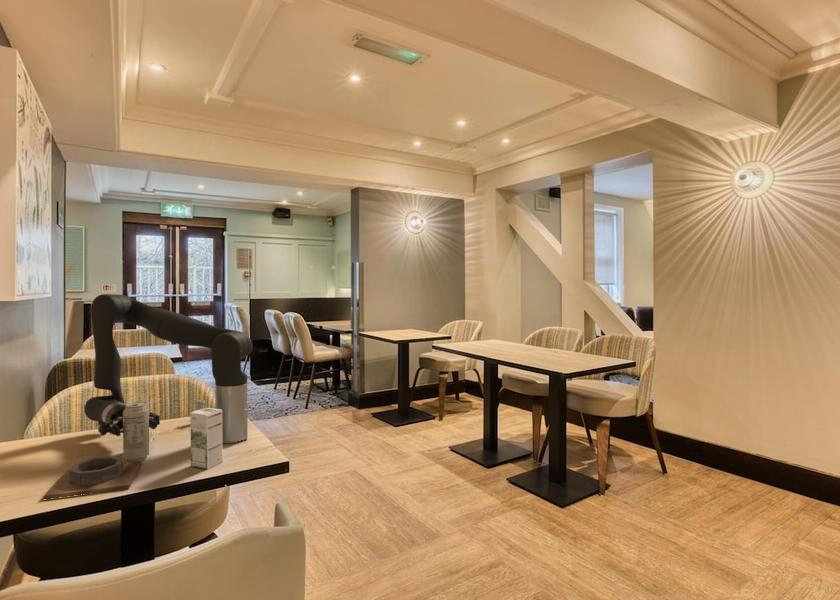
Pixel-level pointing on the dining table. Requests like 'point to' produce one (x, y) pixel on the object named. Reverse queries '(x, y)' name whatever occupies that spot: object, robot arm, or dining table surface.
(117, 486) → the can holder
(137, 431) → the energy drink can
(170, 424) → the dining table surface
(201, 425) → the syrup box
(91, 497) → the dining table surface
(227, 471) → the dining table surface
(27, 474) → the dining table surface
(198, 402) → the rook chess piece
